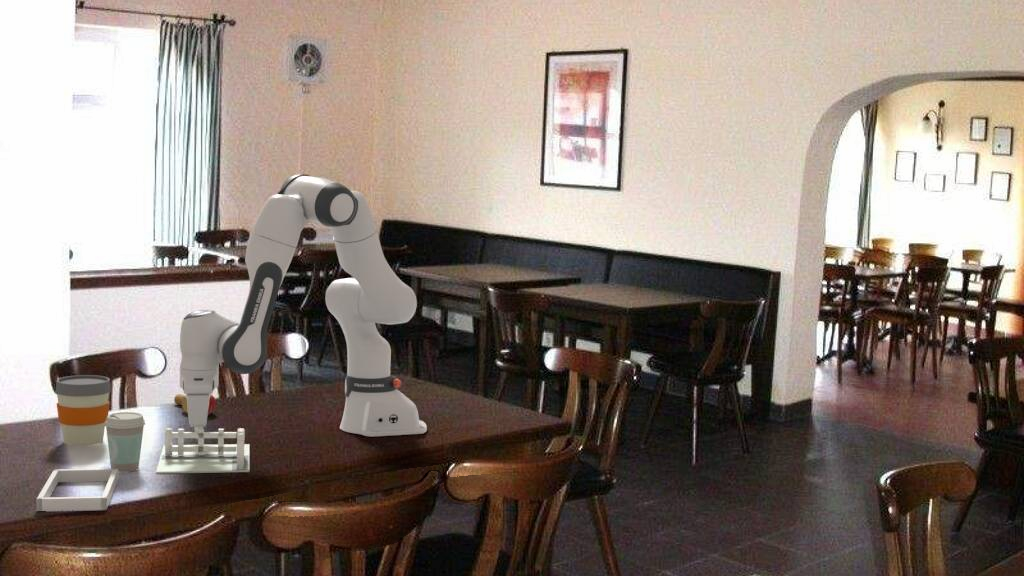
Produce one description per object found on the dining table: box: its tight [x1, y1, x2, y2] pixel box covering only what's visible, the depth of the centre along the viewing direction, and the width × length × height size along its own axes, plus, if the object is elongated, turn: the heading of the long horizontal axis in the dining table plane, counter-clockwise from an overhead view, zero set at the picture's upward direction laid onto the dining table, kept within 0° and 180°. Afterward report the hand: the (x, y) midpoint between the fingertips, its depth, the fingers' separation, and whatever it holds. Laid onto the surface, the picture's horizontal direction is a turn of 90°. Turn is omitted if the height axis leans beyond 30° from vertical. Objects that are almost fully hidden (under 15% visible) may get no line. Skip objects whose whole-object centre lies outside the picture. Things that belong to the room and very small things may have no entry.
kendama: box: [173, 393, 217, 416], centre depth 330 cm, size 8×6×18 cm
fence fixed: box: [236, 429, 246, 470], centre depth 276 cm, size 11×2×6 cm, turn 12°
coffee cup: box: [105, 411, 146, 473], centre depth 269 cm, size 8×8×12 cm
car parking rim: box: [35, 468, 119, 512], centre depth 249 cm, size 13×22×2 cm, turn 12°
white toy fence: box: [164, 427, 246, 456], centre depth 281 cm, size 18×2×6 cm, turn 99°
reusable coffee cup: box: [55, 374, 112, 447], centre depth 292 cm, size 13×13×15 cm
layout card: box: [155, 443, 250, 475], centre depth 281 cm, size 20×24×1 cm
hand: (198, 437), depth 287 cm, fingers closed
